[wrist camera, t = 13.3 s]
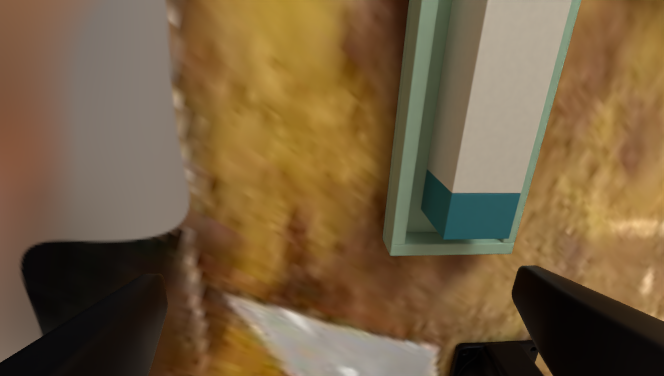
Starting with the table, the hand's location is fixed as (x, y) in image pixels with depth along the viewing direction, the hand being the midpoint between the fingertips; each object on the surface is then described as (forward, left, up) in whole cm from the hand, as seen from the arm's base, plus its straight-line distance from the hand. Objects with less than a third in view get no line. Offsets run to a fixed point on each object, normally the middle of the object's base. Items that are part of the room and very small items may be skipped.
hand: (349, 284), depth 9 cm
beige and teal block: (+3, -8, -12) cm, 14 cm away
